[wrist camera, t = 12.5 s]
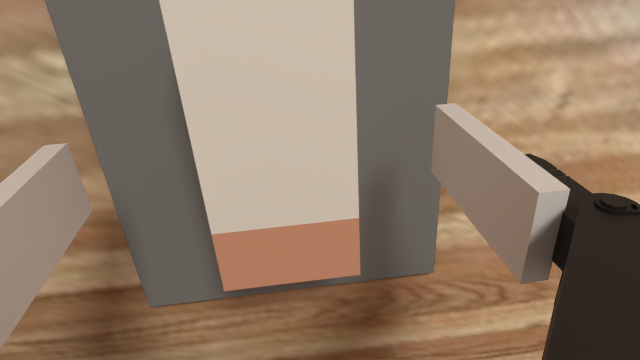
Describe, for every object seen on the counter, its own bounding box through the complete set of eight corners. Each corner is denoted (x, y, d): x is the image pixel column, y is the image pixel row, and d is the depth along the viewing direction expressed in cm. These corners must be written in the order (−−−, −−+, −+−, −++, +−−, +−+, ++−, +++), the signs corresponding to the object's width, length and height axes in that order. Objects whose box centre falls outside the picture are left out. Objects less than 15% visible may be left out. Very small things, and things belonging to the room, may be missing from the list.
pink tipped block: (185, -19, 17) (156, -11, 13) (332, -30, 18) (353, -26, 13) (233, 227, 23) (224, 291, 18) (343, 214, 23) (360, 274, 19)
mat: (151, 301, 25) (149, 307, 25) (-5, -168, 15) (-14, -172, 14) (430, 267, 26) (433, 272, 26) (464, -193, 16) (470, -197, 16)
